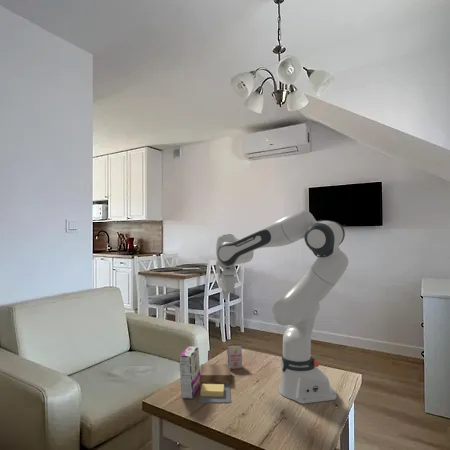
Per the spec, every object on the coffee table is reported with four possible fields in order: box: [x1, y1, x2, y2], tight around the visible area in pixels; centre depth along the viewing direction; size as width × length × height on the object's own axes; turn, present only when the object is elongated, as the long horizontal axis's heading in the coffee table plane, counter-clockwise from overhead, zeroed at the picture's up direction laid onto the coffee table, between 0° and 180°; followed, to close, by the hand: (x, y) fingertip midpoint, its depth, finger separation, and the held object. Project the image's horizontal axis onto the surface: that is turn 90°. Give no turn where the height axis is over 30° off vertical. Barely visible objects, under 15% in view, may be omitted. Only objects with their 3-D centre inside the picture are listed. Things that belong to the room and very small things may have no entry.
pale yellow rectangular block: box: [199, 384, 224, 397], centre depth 130 cm, size 9×6×2 cm, turn 88°
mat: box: [198, 384, 232, 404], centre depth 130 cm, size 12×14×1 cm
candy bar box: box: [178, 345, 201, 400], centre depth 131 cm, size 11×5×16 cm, turn 168°
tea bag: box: [226, 345, 243, 370], centre depth 155 cm, size 4×7×10 cm, turn 99°
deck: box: [200, 363, 232, 386], centre depth 143 cm, size 13×11×4 cm
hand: (225, 299), depth 151 cm, fingers closed
